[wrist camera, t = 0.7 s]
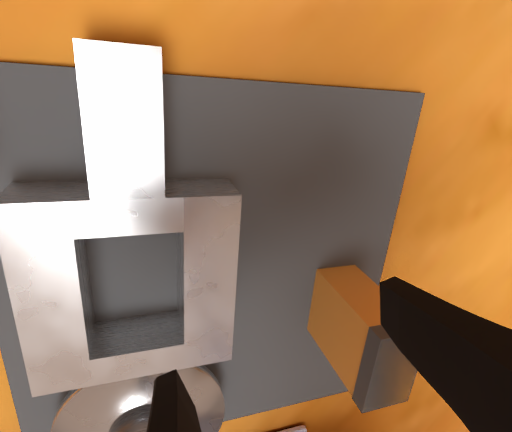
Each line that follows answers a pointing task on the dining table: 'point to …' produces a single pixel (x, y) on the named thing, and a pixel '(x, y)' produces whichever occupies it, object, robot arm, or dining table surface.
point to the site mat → (252, 213)
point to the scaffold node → (113, 225)
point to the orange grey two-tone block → (358, 338)
